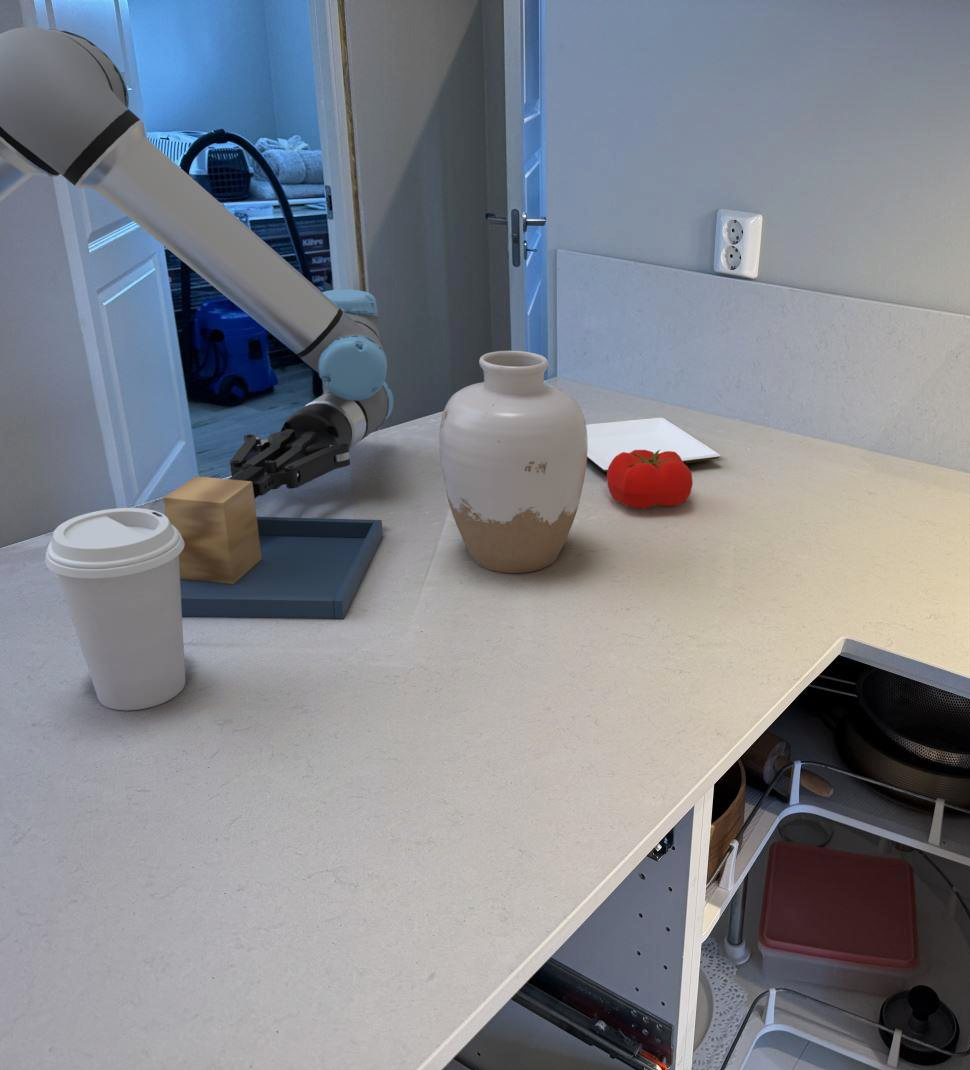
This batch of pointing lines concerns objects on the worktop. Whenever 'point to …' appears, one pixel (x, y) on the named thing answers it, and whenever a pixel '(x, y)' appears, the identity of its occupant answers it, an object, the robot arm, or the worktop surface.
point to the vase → (513, 463)
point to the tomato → (649, 479)
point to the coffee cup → (124, 602)
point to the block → (215, 528)
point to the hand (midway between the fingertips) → (228, 499)
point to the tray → (293, 572)
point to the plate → (643, 441)
